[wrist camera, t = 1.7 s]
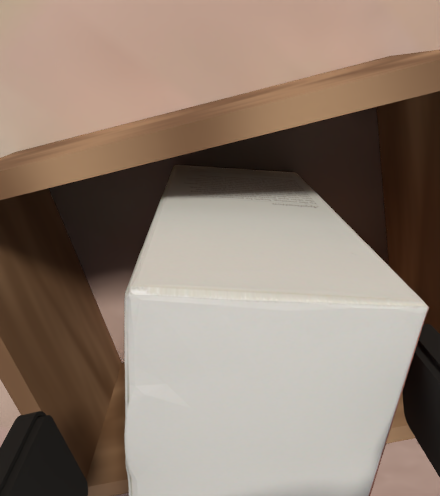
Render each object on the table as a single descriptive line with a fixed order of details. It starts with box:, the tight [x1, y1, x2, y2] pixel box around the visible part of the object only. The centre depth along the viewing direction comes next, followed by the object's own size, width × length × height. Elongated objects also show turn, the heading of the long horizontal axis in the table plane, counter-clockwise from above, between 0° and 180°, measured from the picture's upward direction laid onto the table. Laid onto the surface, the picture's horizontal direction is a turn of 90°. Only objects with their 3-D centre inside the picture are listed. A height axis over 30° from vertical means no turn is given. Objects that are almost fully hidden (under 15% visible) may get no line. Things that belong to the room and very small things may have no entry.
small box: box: [124, 165, 429, 496], centre depth 15 cm, size 8×6×13 cm
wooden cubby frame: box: [0, 50, 440, 496], centre depth 17 cm, size 18×14×8 cm
